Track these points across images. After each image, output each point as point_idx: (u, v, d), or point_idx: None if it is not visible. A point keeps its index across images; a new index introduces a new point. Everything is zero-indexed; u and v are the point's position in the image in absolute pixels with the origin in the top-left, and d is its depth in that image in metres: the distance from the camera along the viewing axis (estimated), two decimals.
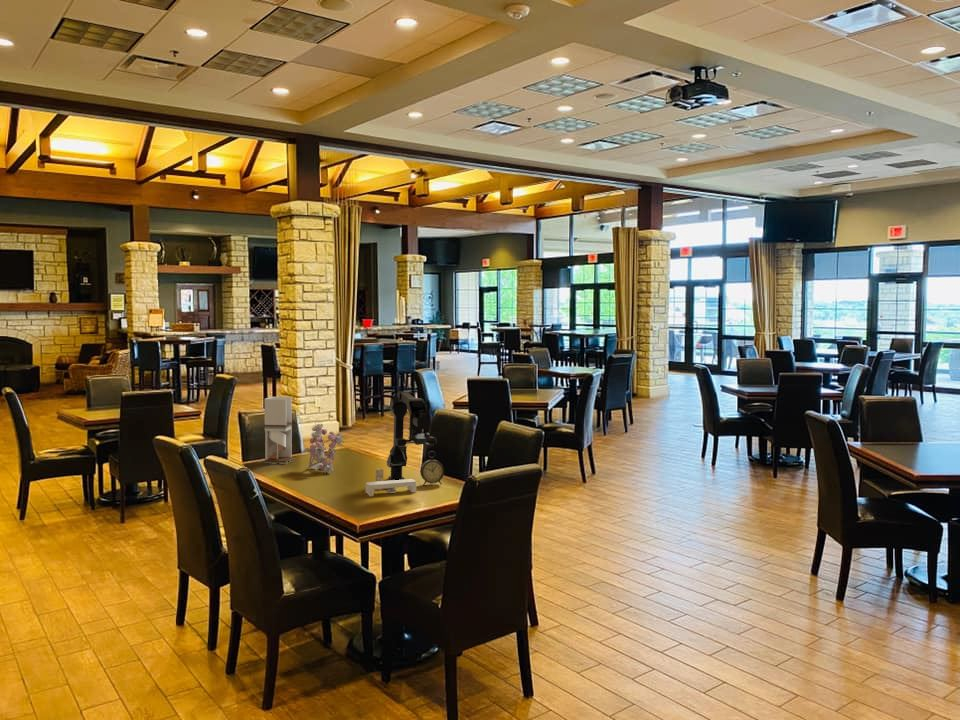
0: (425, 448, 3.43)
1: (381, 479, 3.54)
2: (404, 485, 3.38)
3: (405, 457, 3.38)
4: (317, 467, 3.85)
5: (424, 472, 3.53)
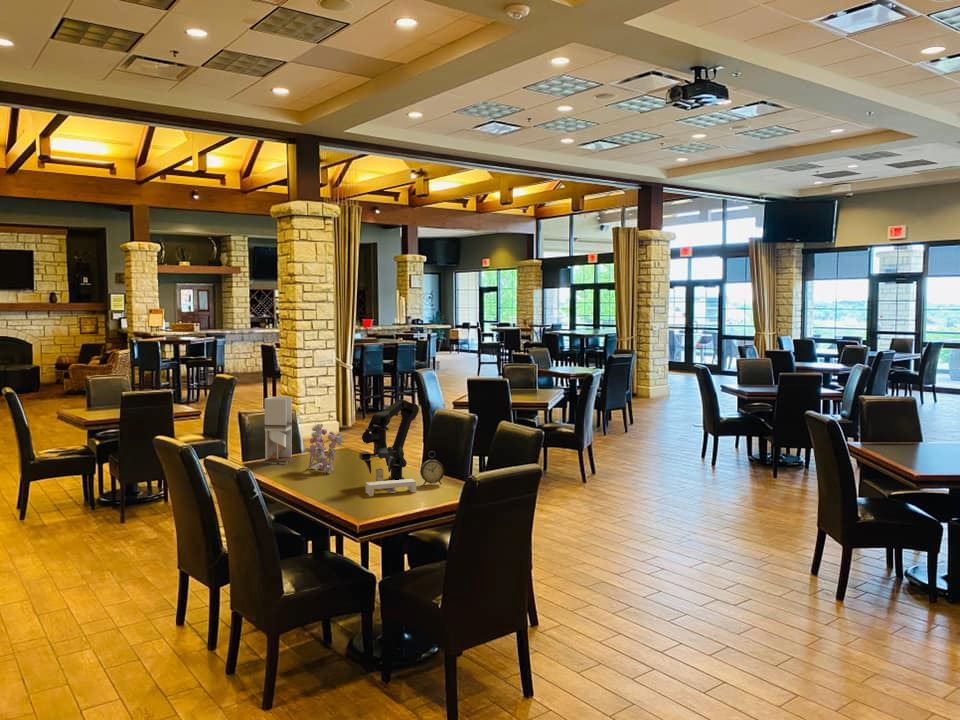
0: (389, 461, 3.57)
1: (381, 479, 3.54)
2: (404, 485, 3.38)
3: (370, 470, 3.53)
4: (317, 467, 3.85)
5: (424, 472, 3.53)
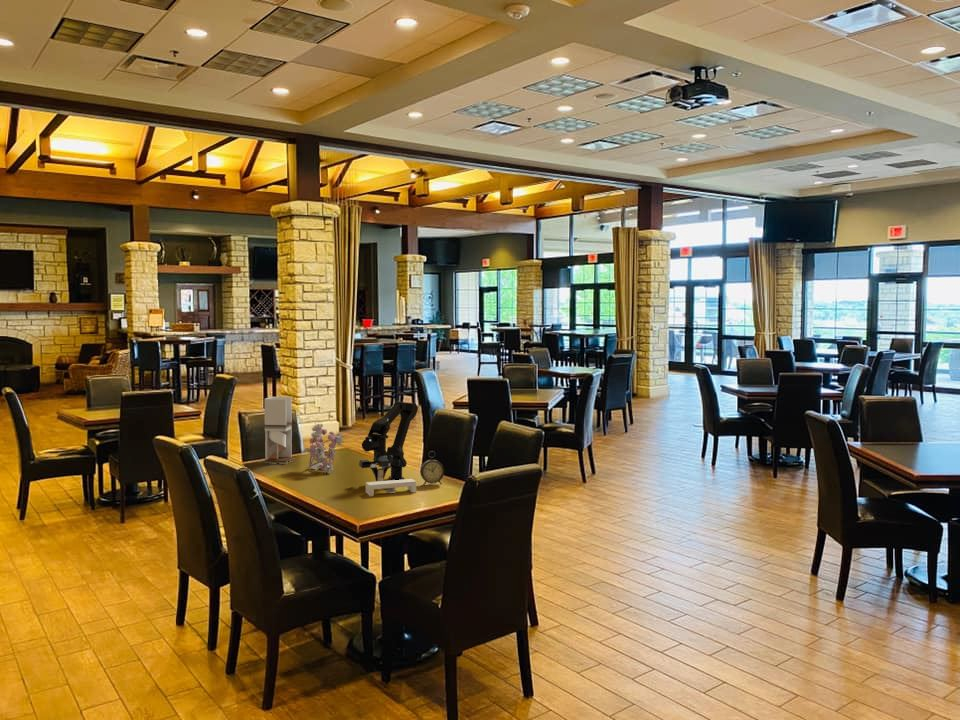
0: (383, 470, 3.56)
1: (381, 479, 3.54)
2: (404, 485, 3.38)
3: (376, 478, 3.54)
4: (317, 467, 3.85)
5: (424, 472, 3.53)
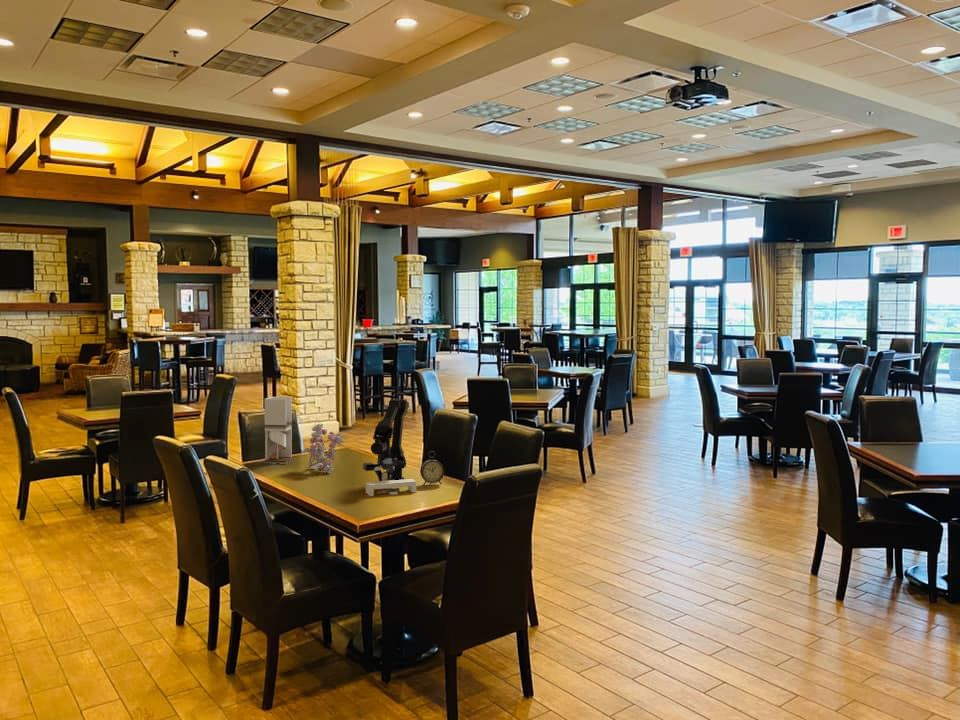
0: (387, 473, 3.49)
1: None
2: (404, 485, 3.38)
3: None
4: (317, 467, 3.85)
5: (424, 472, 3.53)
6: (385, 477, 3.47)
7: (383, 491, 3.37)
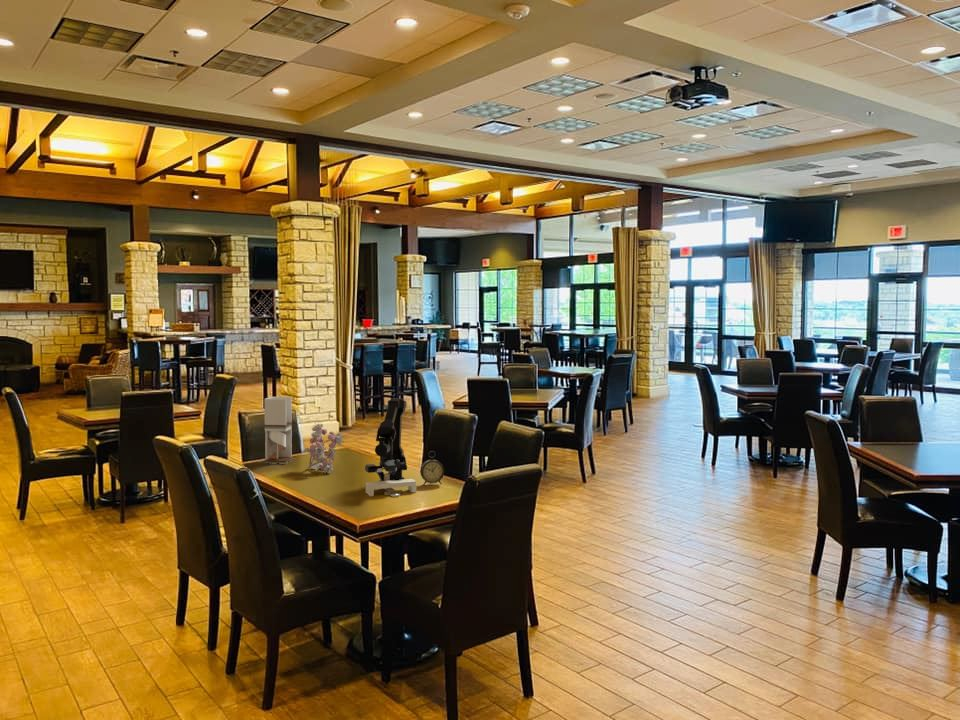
0: None
1: None
2: (404, 485, 3.38)
3: None
4: (317, 467, 3.85)
5: (424, 472, 3.53)
6: (387, 479, 3.44)
7: (385, 493, 3.34)
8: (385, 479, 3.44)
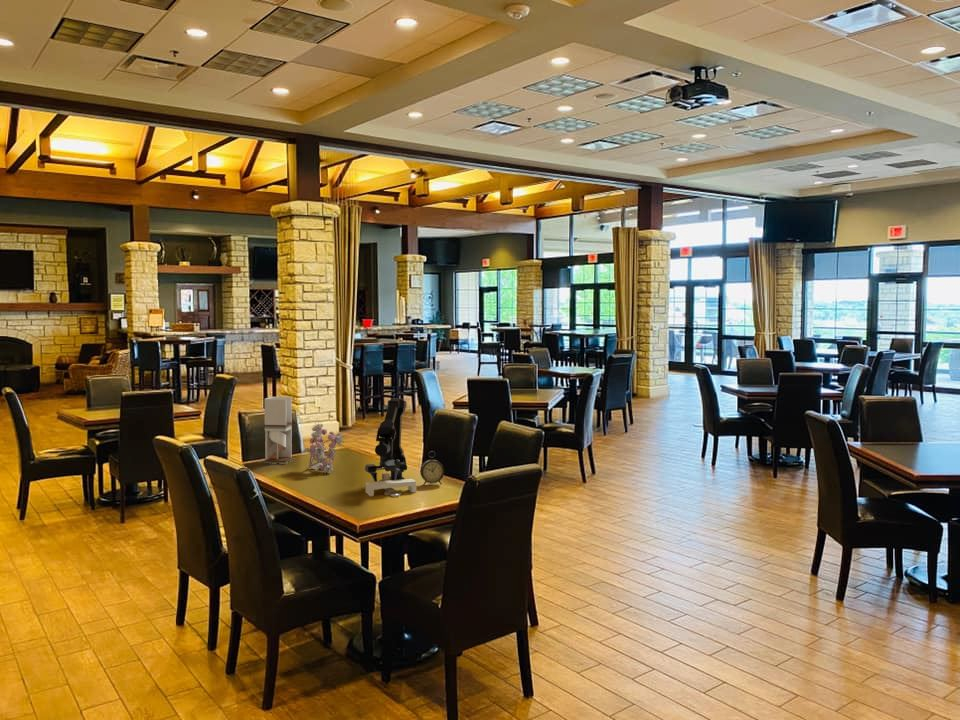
0: (396, 474, 3.47)
1: None
2: (404, 485, 3.38)
3: None
4: (317, 467, 3.85)
5: (424, 472, 3.53)
6: (387, 479, 3.44)
7: (385, 493, 3.34)
8: (385, 479, 3.44)
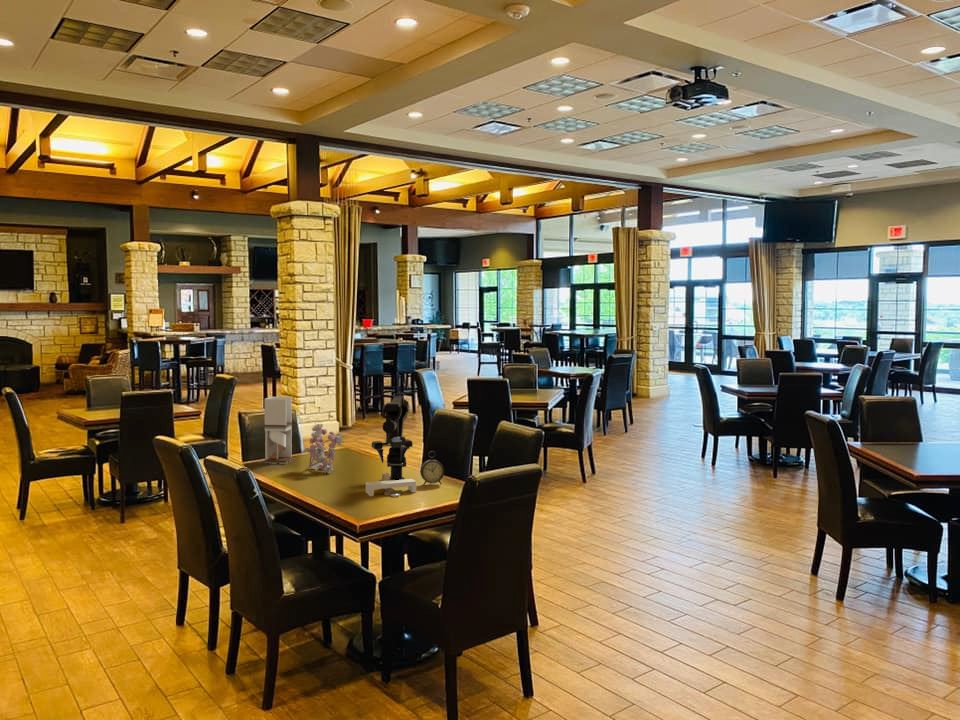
0: (401, 451, 3.55)
1: None
2: (404, 485, 3.38)
3: (382, 459, 3.51)
4: (317, 467, 3.85)
5: (424, 472, 3.53)
6: (387, 479, 3.44)
7: (385, 493, 3.34)
8: (385, 479, 3.44)
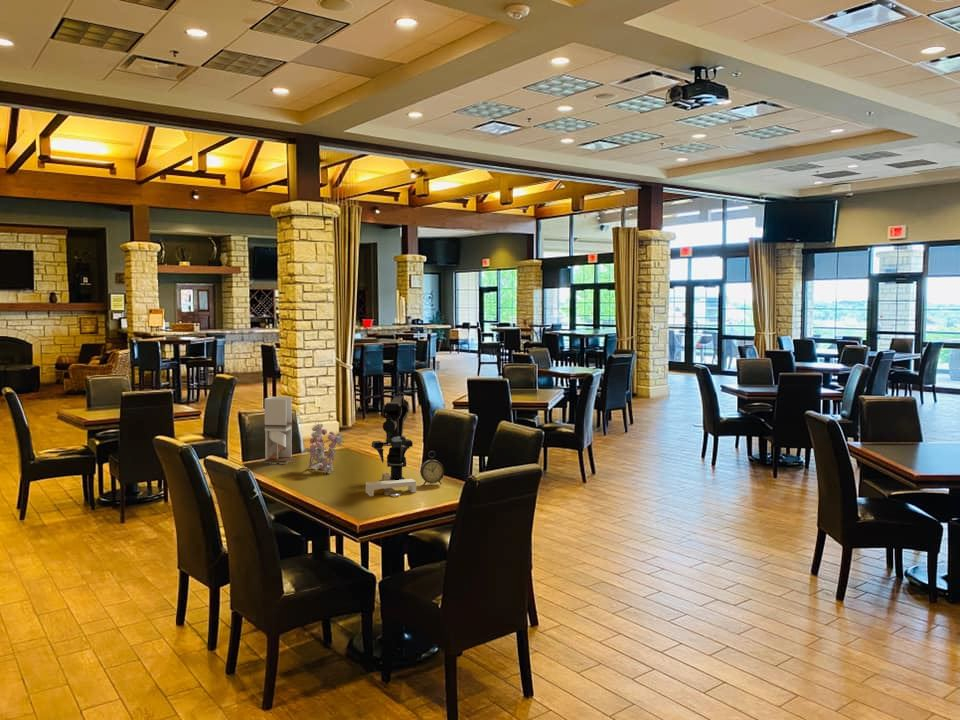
0: (401, 450, 3.55)
1: None
2: (404, 485, 3.38)
3: (382, 459, 3.51)
4: (317, 467, 3.85)
5: (424, 472, 3.53)
6: (387, 479, 3.44)
7: (385, 493, 3.34)
8: (385, 479, 3.44)
